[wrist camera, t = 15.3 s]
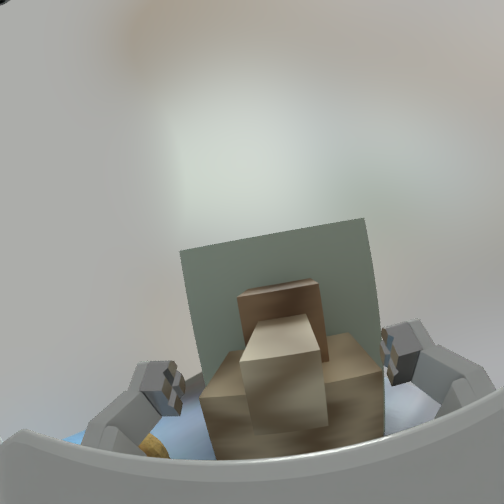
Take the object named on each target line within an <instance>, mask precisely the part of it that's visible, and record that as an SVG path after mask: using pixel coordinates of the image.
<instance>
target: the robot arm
mask: <svg viewBox="0 0 504 504" xmlns="http://www.w3.org/2000/svg"><path fill="white" fill-rule="evenodd" d="M8 1H10V0H0V5H3V4H5V3H7V2H8ZM381 336H382V338H383V340H382V341H381V342H380V357H381V360H382V363H383V365H384V366H385V367H387V368H388V370H387V376H388V378H389V381H390V383H391V386H396V385H399V384H403V383H406V382H410V381H411V382H412V383H413V384H415V385H416V386H417V387H418V388H420V389H421V390H422V391H424V392H425V393H426V394H427V395H429V396H430V397H431V398H433V399H434V400H435V401H437V402H438V403H439V404H441V407H440V409H439V411H438V413H437V414H436V416H435V419H434V420H431V421H429V422H426V423H423V424H421V425H418V426H415V427H412V428H409V429H406V430H403V431H400V432H397V433H394V434H391V435H387V436H384V437H380V438H377V439H373V440H369V441H365V442H361V443H357V444H353V445H349V446H344V447H339V448H334V449H329V450H324V451H318V452H312V453H306V454H299V455H291V456H283V457H273V458H262V459H246V460H182V459H167V458H156V457H147V455H146V454H145V453H144V452H143V451H142V450H141V449H140V448H138V446H139V445H140V444H141V442H142V441H143V440H144V439H145V438H146V436H147V435H148V434H149V433H150V431H151V430H152V429H153V428H154V427H155V425H156V424H157V423H158V422H159V420H160V419H161V418H162V417H161V416H180V414H181V409H182V404H183V403H182V401H181V400H180V399H181V398H182V397H183V396H184V394H185V380H184V377H183V376H182V374H181V373H180V372H178V371H177V370H176V369H177V365H176V364H175V362H174V361H146V362H145V361H143V362H142V361H141V362H139V363H138V364H137V367H136V369H135V372H134V374H133V377H132V380H131V382H130V385H129V388H128V391H124V392H123V393H122V394H121V395H120V396H118V397H117V398H116V399H115V400H114V401H113V402H112V403H110V404H109V405H108V406H107V407H106V408H105V409H104V410H103V411H101V412H100V413H99V414H98V415H97V416H95V418H93V419H92V420H91V421H90V422H89V423H88V426H87V429H86V431H85V434H84V437H83V439H82V442H81V445H78V444H74V443H70V442H66V441H63V440H59V439H55V438H52V437H49V436H46V435H42V434H39V433H36V432H34V431H31V430H27V429H23V430H20V431H18V432H17V433H15V434H14V435H12V436H11V437H10V438H8V439H7V440H6V441H4V442H3V441H2V439H1V437H0V504H504V386H503V387H501V388H500V389H498V390H496V389H495V387H494V385H493V383H492V382H491V380H490V378H489V376H488V375H487V373H486V371H485V370H484V368H483V367H481V366H479V365H477V364H476V363H474V362H472V361H470V360H468V359H466V358H464V357H462V356H460V355H458V354H456V353H454V352H452V351H450V350H448V349H446V348H444V347H442V346H441V345H435V344H434V342H433V340H432V339H431V337H430V336H429V334H428V332H427V331H426V329H425V327H424V326H423V324H422V323H421V321H420V319H418V318H416V319H412V320H409V321H406V322H402V323H398V324H395V325H391V326H387V327H383V328H382V331H381Z"/></svg>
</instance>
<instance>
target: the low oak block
mask: <svg viewBox="0 0 504 504" xmlns="http://www.w3.org/2000/svg"><path fill="white" fill-rule="evenodd" d="M327 345H328V353H329V362H324V363H322V369H323V377H324V386H325V395H326V404H327V414H328V425H329V426H325V427H319V428H313V429H307V430H300V431H293V432H286V433H277V434H267V435H256V436H255V435H254V431H253V426H252V421H251V417H250V412H249V408H248V403H247V398H246V393H245V388H244V384H243V379H242V374H241V369H240V364H239V361H240V359H241V357H242V355H243V353H244V350H237V351H229V353H228V354H227V356H226V357H225V359H224V360H223V362H222V363H221V365H220V367H219V368H218V370H217V371H216V373H215V374H214V376H213V377H212V379H211V380H210V382H209V383H208V385H207V386H206V388H205V389H204V391H203V392H202V394H201V395H200V397H199V400H200V404H201V408H202V411H203V415H204V419H205V422H206V426H207V429H208V433H209V436H210V440H211V443H212V446H213V450H214V453H215V456H216V459H217V460H246V459H262V458H273V457H283V456H291V455H299V454H306V453H312V452H318V451H324V450H329V449H334V448H339V447H344V446H349V445H353V444H357V443H361V442H365V441H369V440H373V439H377V438H380V437H383V430H384V401H383V371H382V369H381V368H380V367H379V366H378V365H377V364H376V362H375V361H374V360H373V359H372V358H371V357H370V356H369V355H368V353H367V352H366V351H365V350H364V349H363V348H362V347H361V345H360V344H359V343H358V342H357V341H356V340H355V339H354V338H353V336H352V335H351V334H350V333H349V332H347V333H342V334H337V335H332V336H327Z"/></svg>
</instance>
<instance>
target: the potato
mask: <svg viewBox="0 0 504 504" xmlns="http://www.w3.org/2000/svg"><path fill="white" fill-rule="evenodd" d="M138 448H140V449H141V450H142V451H143V452H144V453H145V454H146V455H147V457H156V458H167V459H170V457H169V454H168V452H167V450H166V448H165V447H164V445H163V444H162V443H161V442H160V441H159V440H158V439H157V438H156V437H155V436H153V435H152V434H150V433H149V434H148V435H147V436H146V438H145V439H144V440H143V441H142V442H141V444H140V445H139V446H138Z"/></svg>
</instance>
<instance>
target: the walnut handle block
mask: <svg viewBox="0 0 504 504" xmlns="http://www.w3.org/2000/svg"><path fill="white" fill-rule="evenodd" d="M237 303H238V309H239V314H240V320H241V325H242V331H243V336H244V341H245V347H246V348H245V350H244V353H243V355H242V357H241V359H240V361H239V364H240V369H241V374H242V379H243V384H244V388H245V393H246V398H247V403H248V408H249V412H250V417H251V421H252V426H253V431H254V435H255V436H256V435H267V434H277V433H286V432H293V431H300V430H307V429H313V428H319V427H325V426H329V425H328V414H327V404H326V395H325V386H324V377H323V369H322V363H324V362H329V353H328V345H327V337H326V330H325V322H324V315H323V309H322V302H321V295H320V289H319V283H317V282H316V281H314V280H313V279H311V278H308V279H302V280H297V281H291V282H285V283H280V284H274V285H268V286H262V287H256V288H250V289H247V290H246V291H245V292H243V293H242V294H240V295H239V296H238V297H237Z"/></svg>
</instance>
